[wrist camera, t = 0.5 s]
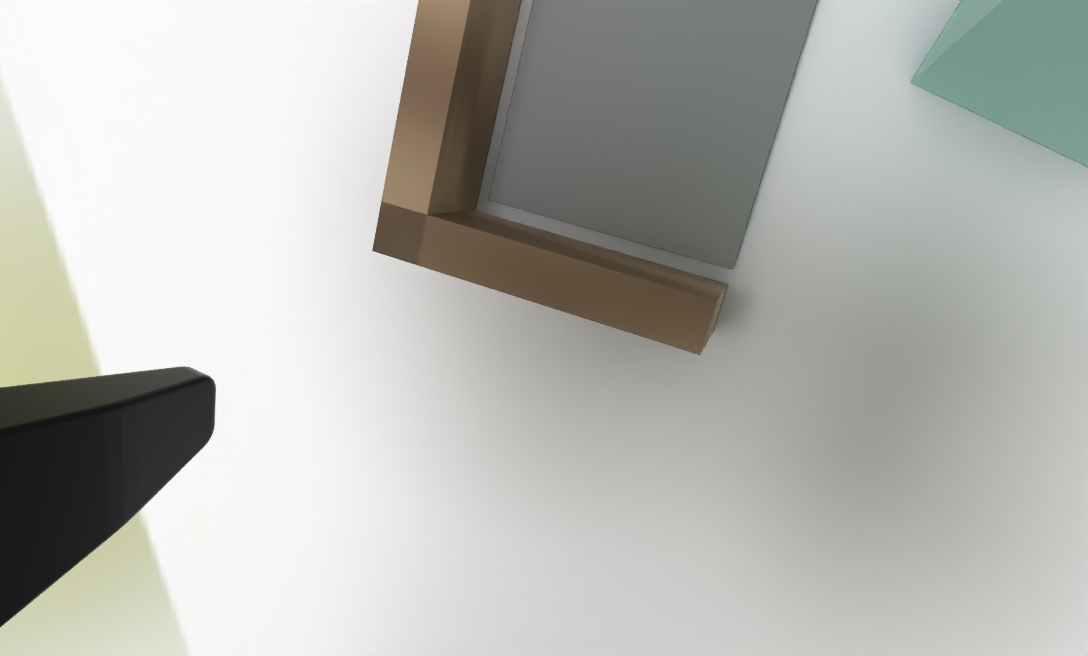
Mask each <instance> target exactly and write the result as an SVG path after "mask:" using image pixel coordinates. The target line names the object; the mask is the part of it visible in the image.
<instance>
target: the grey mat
mask: <svg viewBox="0 0 1088 656" xmlns="http://www.w3.org/2000/svg"><path fill="white" fill-rule="evenodd" d="M816 2H817V0H533V3H532V7H531V12H530V16H529V21H528V25H527V30H526V34H525V39H524V43H523V48H522V52H521V57H520V61H519V66H518V70H517V75H516V79H515V84H514V88H513V93H512V97H511V102H510V106H509V111H508V115H507V120H506V124H505V129H504V133H503V138H502V142H501V147H500V151H499V156H498V160H497V165H496V169H495V174H494V178H493V183H492V187H491V192H490V196H489V200H491V201H494V202H498V203H501V204H505V205H508V206H512V207H515V208H519V209H522V210H526V211H529V212H533V213H536V214H540V215H543V216H547V217H550V218H554V219H557V220H561V221H564V222H568V223H571V224H575V225H578V226H582V227H585V228H589V229H592V230H596V231H599V232H603V233H606V234H610V235H613V236H617V237H620V238H624V239H627V240H631V241H634V242H638V243H641V244H645V245H648V246H651V247H655V248H658V249H662V250H665V251H669V252H672V253H676V254H679V255H683V256H686V257H690V258H693V259H697V260H700V261H704V262H707V263H711V264H714V265H718V266H721V267H725V268H728V269H733V267H734V264H735V261H736V258H737V255H738V251H739V248H740V245H741V242H742V239H743V235H744V232H745V229H746V226H747V223H748V219H749V216H750V213H751V210H752V207H753V203H754V200H755V197H756V194H757V191H758V188H759V184H760V181H761V178H762V175H763V172H764V168H765V165H766V162H767V159H768V156H769V152H770V149H771V146H772V143H773V140H774V136H775V133H776V130H777V127H778V124H779V121H780V117H781V114H782V111H783V108H784V105H785V101H786V98H787V95H788V92H789V89H790V85H791V82H792V79H793V76H794V73H795V69H796V66H797V63H798V60H799V57H800V54H801V50H802V47H803V44H804V41H805V38H806V34H807V31H808V28H809V25H810V22H811V18H812V15H813V12H814V9H815V6H816Z"/></svg>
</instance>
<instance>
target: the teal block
mask: <svg viewBox="0 0 1088 656" xmlns="http://www.w3.org/2000/svg"><path fill="white" fill-rule="evenodd" d="M910 83H912V84H915V85H917V86H919V87H921V88H923V89H925V90H927V91H929V92H931V93H934V94H936V95H938V96H940V97H942V98H944V99H946V100H948V101H950V102H952V103H955V104H957V105H959V106H961V107H963V108H965V109H967V110H969V111H971V112H973V113H976V114H978V115H980V116H982V117H984V118H986V119H988V120H990V121H992V122H994V123H997V124H999V125H1001V126H1003V127H1005V128H1007V129H1009V130H1011V131H1013V132H1016V133H1018V134H1020V135H1022V136H1024V137H1026V138H1028V139H1030V140H1032V141H1034V142H1037V143H1039V144H1041V145H1043V146H1045V147H1047V148H1049V149H1051V150H1053V151H1055V152H1058V153H1060V154H1062V155H1064V156H1066V157H1068V158H1070V159H1072V160H1074V161H1076V162H1079V163H1081V164H1083V165H1085V166H1087V167H1088V0H961V2H960V3H959V5H958V7H957V8H956V10H955V11H954V13H953V15H952V16H951V18H950V19H949V21H948V23H947V24H946V26H945V28H944V29H943V31H942V32H941V34H940V36H939V37H938V39H937V40H936V42H935V44H934V45H933V47H932V49H931V50H930V52H929V53H928V55H927V57H926V58H925V60H924V61H923V63H922V65H921V66H920V68H919V70H918V71H917V73H916V74H915V76H914V78H913V79H912V81H911V82H910Z"/></svg>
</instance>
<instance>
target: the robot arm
mask: <svg viewBox="0 0 1088 656" xmlns="http://www.w3.org/2000/svg"><path fill="white" fill-rule="evenodd" d="M215 398H216V385H215V383H214V380H213V379H212V378H211V377H210V376H208V375H206V374H204V373H201V372H199V371H197V370H195V369H193V368H190V367H174V368H165V369H157V370H148V371H139V372H131V373H122V374H114V375H105V376H96V377H88V378H79V379H70V380H62V381H53V382H45V383H36V384H27V385H18V386H11V387H1V388H0V627H1V626H2V625H4V624H5V623H6V622H7V621H9V620H10V619H11V618H12V617H13V616H15V615H16V614H17V613H18V612H19V611H21V610H22V609H23V608H24V607H26V606H27V605H28V604H29V603H31V602H32V601H33V600H34V599H35V598H37V597H38V596H39V595H40V594H41V593H43V592H44V591H45V590H46V589H47V588H49V587H50V586H51V585H52V584H54V583H55V582H56V581H57V580H59V579H60V578H61V577H62V576H63V575H65V574H66V573H67V572H68V571H69V570H71V569H72V568H73V567H74V566H76V565H77V564H78V563H79V562H80V561H81V560H83V559H84V558H85V557H87V556H88V555H89V554H90V553H91V552H93V551H94V550H95V549H96V548H97V547H99V546H100V545H101V544H102V543H104V542H105V541H106V540H107V539H108V538H110V537H111V536H112V535H113V534H114V533H115V532H117V531H118V530H119V529H120V528H121V527H122V526H123V525H125V524H126V523H127V522H128V521H129V520H130V519H131V518H132V517H133V516H134V515H135V514H136V513H137V512H139V511H140V510H141V509H142V508H143V507H144V506H145V505H146V504H147V503H148V502H149V501H150V500H151V499H152V498H153V497H154V496H155V495H156V494H157V493H158V492H159V491H160V490H161V489H162V488H163V487H164V486H165V485H166V484H167V483H168V482H169V481H170V480H171V479H172V478H173V477H174V476H175V475H176V474H177V473H178V472H179V471H180V470H181V469H182V468H183V467H184V466H185V465H186V464H187V463H188V462H189V461H190V460H191V459H192V458H193V457H194V456H195V455H196V454H197V453H198V452H199V451H200V450H201V449H202V448H203V447H204V446H205V445H206V444H207V442H208V441H209V440H210V438H211V436H212V434H213V431H214V425H215Z"/></svg>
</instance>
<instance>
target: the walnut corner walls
mask: <svg viewBox="0 0 1088 656" xmlns="http://www.w3.org/2000/svg"><path fill="white" fill-rule="evenodd" d="M520 3H521V0H419V2H418V7H417V13H416V18H415V24H414V29H413V34H412V40H411V45H410V51H409V56H408V61H407V67H406V72H405V78H404V83H403V88H402V94H401V99H400V104H399V110H398V115H397V121H396V126H395V131H394V137H393V142H392V148H391V153H390V158H389V164H388V169H387V175H386V180H385V185H384V191H383V196H382V202H381V207H380V212H379V218H378V223H377V229H376V234H375V239H374V245H373V250H372V251H375V252H378V253H381V254H384V255H387V256H390V257H394V258H397V259H400V260H403V261H406V262H409V263H412V264H416V265H419V266H422V267H425V268H428V269H431V270H434V271H438V272H441V273H444V274H447V275H450V276H453V277H456V278H460V279H463V280H466V281H469V282H472V283H475V284H478V285H482V286H485V287H488V288H491V289H494V290H497V291H500V292H504V293H507V294H510V295H513V296H516V297H519V298H522V299H526V300H529V301H532V302H535V303H538V304H541V305H544V306H548V307H551V308H554V309H557V310H560V311H563V312H566V313H570V314H573V315H576V316H579V317H582V318H585V319H589V320H592V321H595V322H598V323H601V324H604V325H607V326H611V327H614V328H617V329H620V330H623V331H626V332H629V333H633V334H636V335H639V336H642V337H645V338H648V339H651V340H655V341H658V342H661V343H664V344H667V345H670V346H673V347H677V348H680V349H683V350H686V351H689V352H692V353H695V354H699V355H700V354H701V352H702V351H703V349H704V347H705V345H706V343H707V342H708V340H709V338H710V336H711V335H712V333H713V331H714V328H715V325H716V322H717V318H718V315H719V312H720V309H721V306H722V302H723V299H724V296H725V293H726V290H727V286H728V284H725V283H722V282H718V281H715V280H711V279H708V278H704V277H701V276H698V275H694V274H691V273H687V272H684V271H680V270H677V269H673V268H670V267H667V266H663V265H660V264H656V263H653V262H649V261H646V260H643V259H639V258H636V257H632V256H629V255H625V254H622V253H619V252H615V251H612V250H608V249H605V248H601V247H598V246H595V245H591V244H588V243H584V242H581V241H577V240H574V239H571V238H567V237H564V236H560V235H557V234H553V233H550V232H547V231H543V230H540V229H536V228H533V227H529V226H526V225H523V224H519V223H516V222H512V221H509V220H505V219H502V218H499V217H495V216H492V215H488V214H485V213H481V212H478V211H475V209H476V205H477V200H478V195H479V191H480V186H481V182H482V177H483V172H484V168H485V163H486V159H487V154H488V150H489V145H490V140H491V136H492V131H493V127H494V122H495V117H496V113H497V108H498V104H499V99H500V94H501V90H502V85H503V81H504V76H505V72H506V67H507V62H508V58H509V53H510V49H511V44H512V39H513V35H514V30H515V26H516V21H517V17H518V12H519V7H520Z"/></svg>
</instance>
